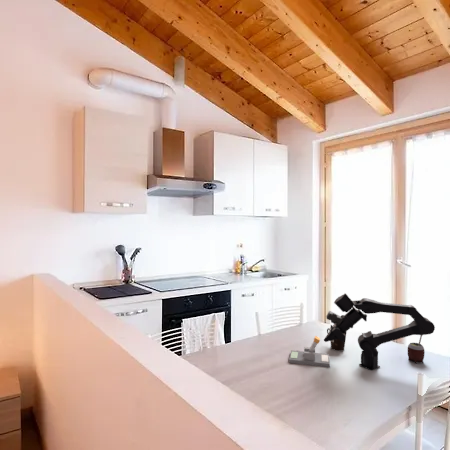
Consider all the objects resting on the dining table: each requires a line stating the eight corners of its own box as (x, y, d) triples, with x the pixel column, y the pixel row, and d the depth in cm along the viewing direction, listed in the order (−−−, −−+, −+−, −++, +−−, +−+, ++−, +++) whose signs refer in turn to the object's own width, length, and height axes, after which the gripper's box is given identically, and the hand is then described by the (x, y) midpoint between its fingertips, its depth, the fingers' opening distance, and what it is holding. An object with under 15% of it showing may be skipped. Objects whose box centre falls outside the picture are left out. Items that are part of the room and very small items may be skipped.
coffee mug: (348, 351, 177) (349, 332, 176) (331, 351, 177) (331, 331, 177) (341, 343, 188) (341, 325, 188) (325, 343, 188) (325, 325, 188)
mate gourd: (407, 362, 164) (407, 330, 164) (407, 356, 171) (408, 326, 171) (425, 365, 161) (426, 333, 160) (425, 359, 168) (425, 328, 167)
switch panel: (328, 357, 169) (329, 348, 169) (329, 367, 157) (329, 357, 157) (291, 353, 174) (291, 344, 174) (289, 362, 162) (289, 353, 162)
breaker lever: (310, 355, 167) (319, 338, 166) (310, 358, 164) (319, 340, 163) (306, 352, 168) (315, 335, 166) (306, 355, 164) (315, 338, 163)
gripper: (336, 301, 171) (312, 322, 174) (338, 311, 153) (311, 333, 156) (352, 319, 169) (328, 339, 172) (357, 330, 151) (329, 353, 154)
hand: (324, 340), depth 164 cm, fingers closed
